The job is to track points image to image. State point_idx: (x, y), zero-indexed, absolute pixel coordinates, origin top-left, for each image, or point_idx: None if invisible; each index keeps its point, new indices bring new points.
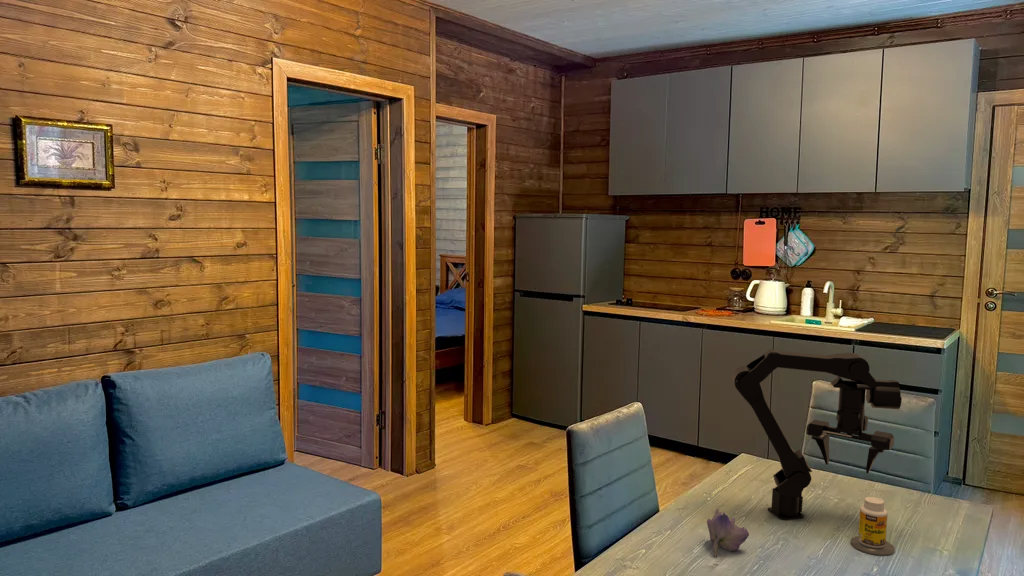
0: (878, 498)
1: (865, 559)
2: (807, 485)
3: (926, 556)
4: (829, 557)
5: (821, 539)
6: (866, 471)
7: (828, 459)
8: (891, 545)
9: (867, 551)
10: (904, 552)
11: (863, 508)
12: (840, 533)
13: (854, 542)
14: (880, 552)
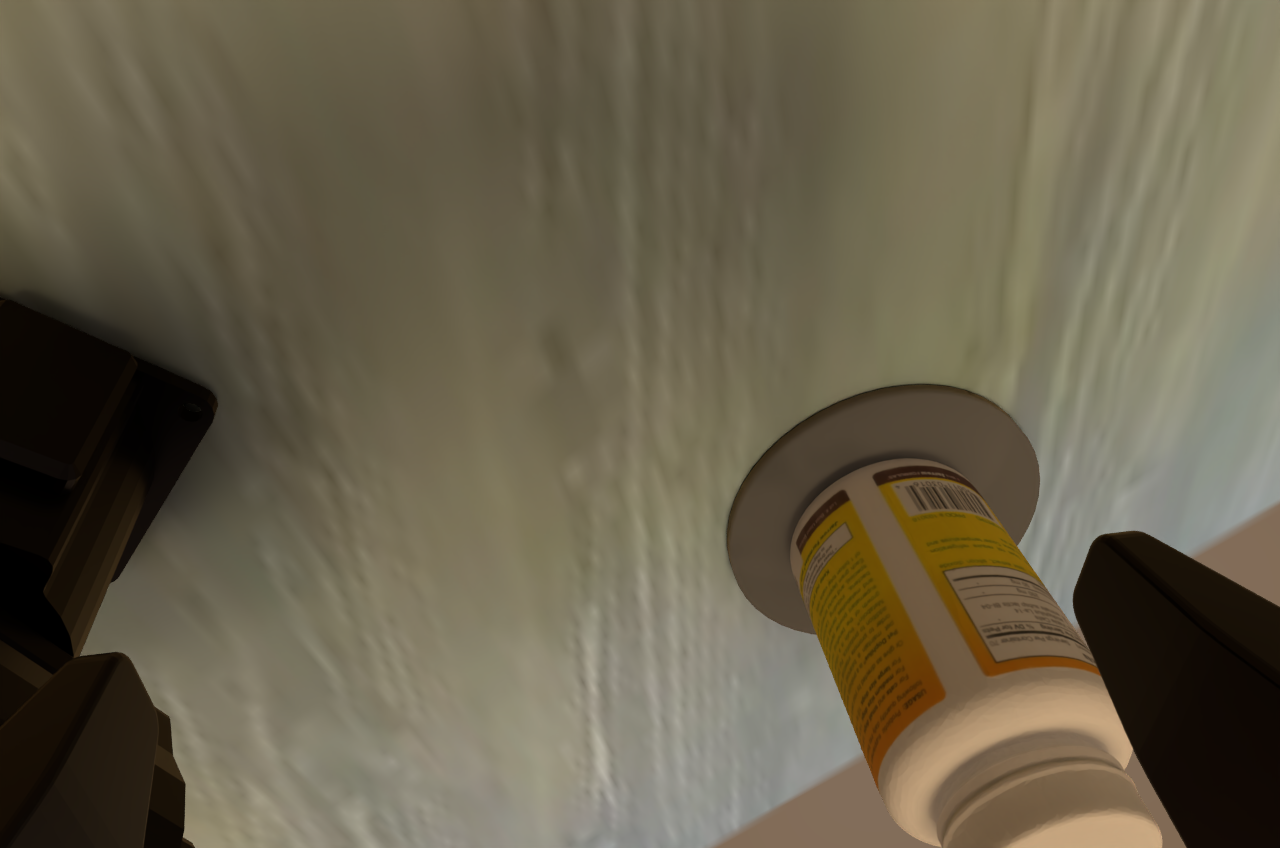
0: (1114, 823)
1: None
2: (166, 764)
3: (1243, 402)
4: (668, 785)
5: (541, 642)
6: (1099, 661)
7: (99, 812)
8: (1020, 450)
9: None
10: (1097, 445)
11: (923, 837)
12: (621, 466)
13: (765, 582)
14: None
